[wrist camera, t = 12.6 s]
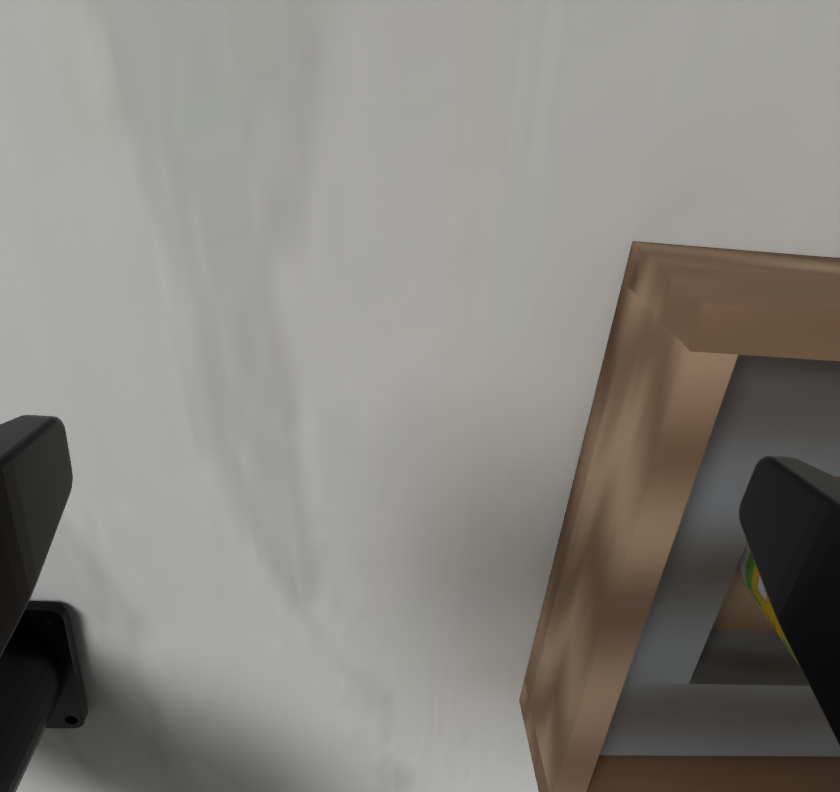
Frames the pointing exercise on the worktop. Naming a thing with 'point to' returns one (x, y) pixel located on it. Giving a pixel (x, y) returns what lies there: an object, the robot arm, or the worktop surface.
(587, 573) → the tray
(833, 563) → the robot arm
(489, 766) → the worktop surface
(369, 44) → the worktop surface
